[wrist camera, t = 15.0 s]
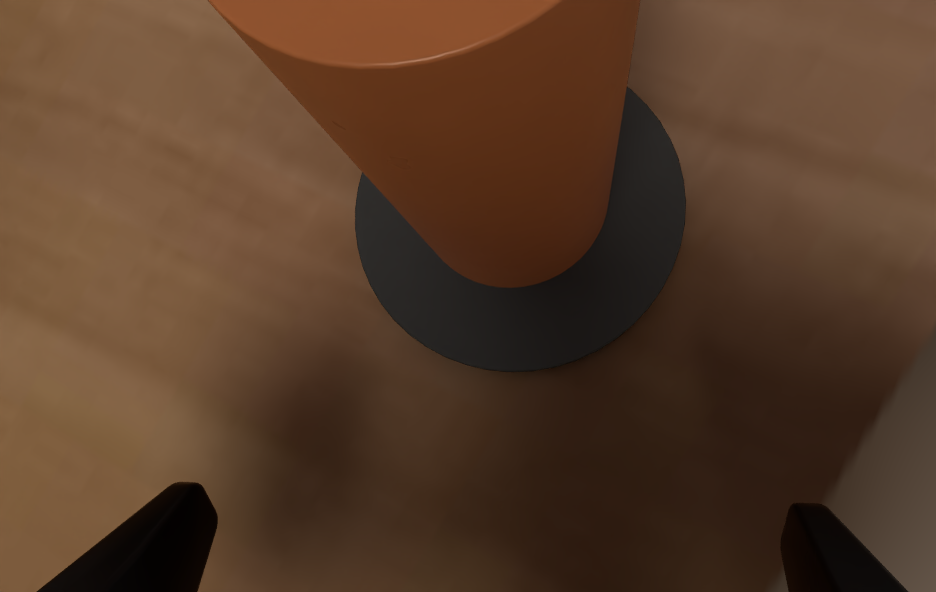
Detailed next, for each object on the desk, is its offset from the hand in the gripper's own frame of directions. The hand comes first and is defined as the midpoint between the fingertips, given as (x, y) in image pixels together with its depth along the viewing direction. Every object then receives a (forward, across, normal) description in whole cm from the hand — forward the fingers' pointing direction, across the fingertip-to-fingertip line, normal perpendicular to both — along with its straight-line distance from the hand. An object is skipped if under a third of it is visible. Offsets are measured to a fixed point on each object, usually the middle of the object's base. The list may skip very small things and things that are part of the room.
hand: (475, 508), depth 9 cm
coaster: (+10, 0, 0) cm, 10 cm away
